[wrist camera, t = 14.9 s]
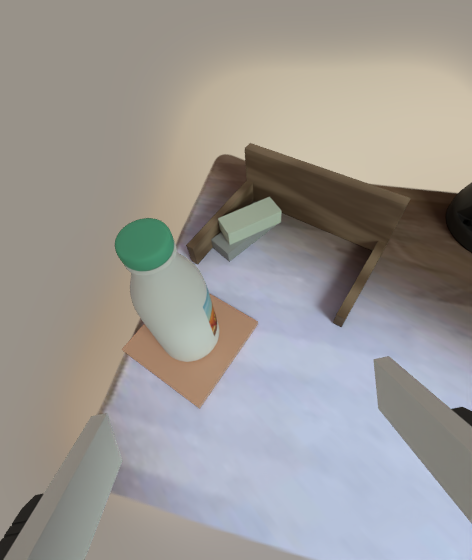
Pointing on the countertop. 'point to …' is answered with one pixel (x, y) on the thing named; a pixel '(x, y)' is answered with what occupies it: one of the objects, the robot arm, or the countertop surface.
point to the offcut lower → (235, 244)
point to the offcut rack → (314, 207)
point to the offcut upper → (249, 220)
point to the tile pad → (201, 373)
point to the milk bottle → (168, 290)
